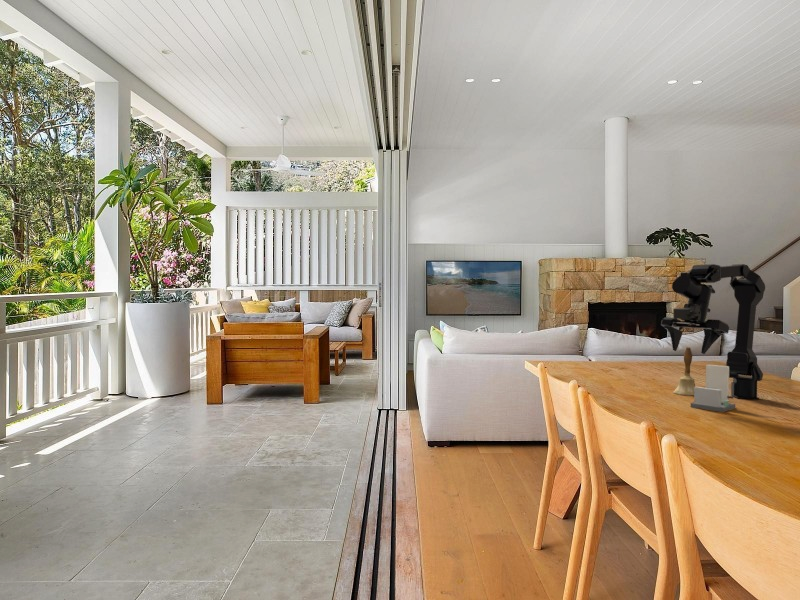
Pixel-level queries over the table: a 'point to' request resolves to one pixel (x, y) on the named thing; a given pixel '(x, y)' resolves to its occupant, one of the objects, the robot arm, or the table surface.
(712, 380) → the cream block
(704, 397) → the gauge base
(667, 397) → the table surface
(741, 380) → the robot arm
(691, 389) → the hand bell
